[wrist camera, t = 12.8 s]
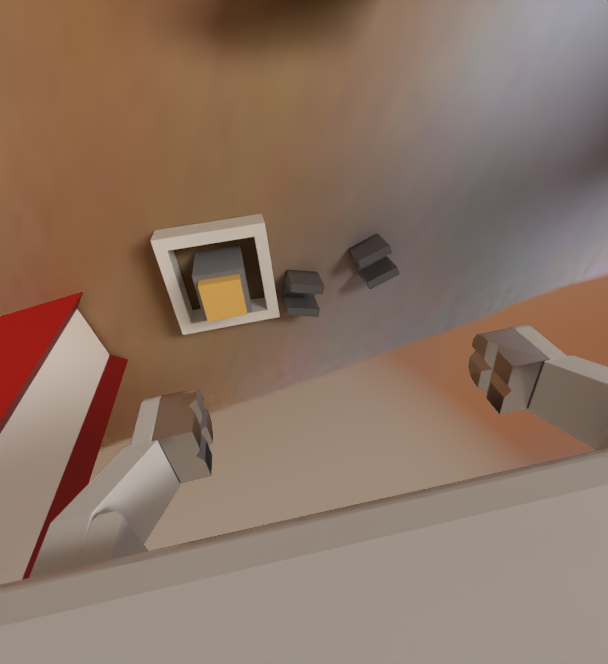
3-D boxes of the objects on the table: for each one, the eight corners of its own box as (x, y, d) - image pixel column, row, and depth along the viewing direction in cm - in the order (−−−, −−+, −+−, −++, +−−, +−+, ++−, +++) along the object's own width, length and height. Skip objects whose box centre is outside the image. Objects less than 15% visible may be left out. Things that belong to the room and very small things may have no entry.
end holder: (261, 213, 32) (264, 222, 30) (276, 304, 37) (279, 316, 35) (154, 230, 31) (150, 240, 29) (184, 320, 36) (182, 335, 34)
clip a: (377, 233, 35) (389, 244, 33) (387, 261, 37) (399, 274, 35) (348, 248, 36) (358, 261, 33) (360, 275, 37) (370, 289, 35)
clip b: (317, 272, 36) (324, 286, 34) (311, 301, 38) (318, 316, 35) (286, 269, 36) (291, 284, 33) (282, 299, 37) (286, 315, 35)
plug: (240, 245, 33) (244, 273, 29) (248, 285, 36) (253, 317, 31) (194, 252, 33) (191, 282, 28) (205, 292, 35) (204, 326, 30)
